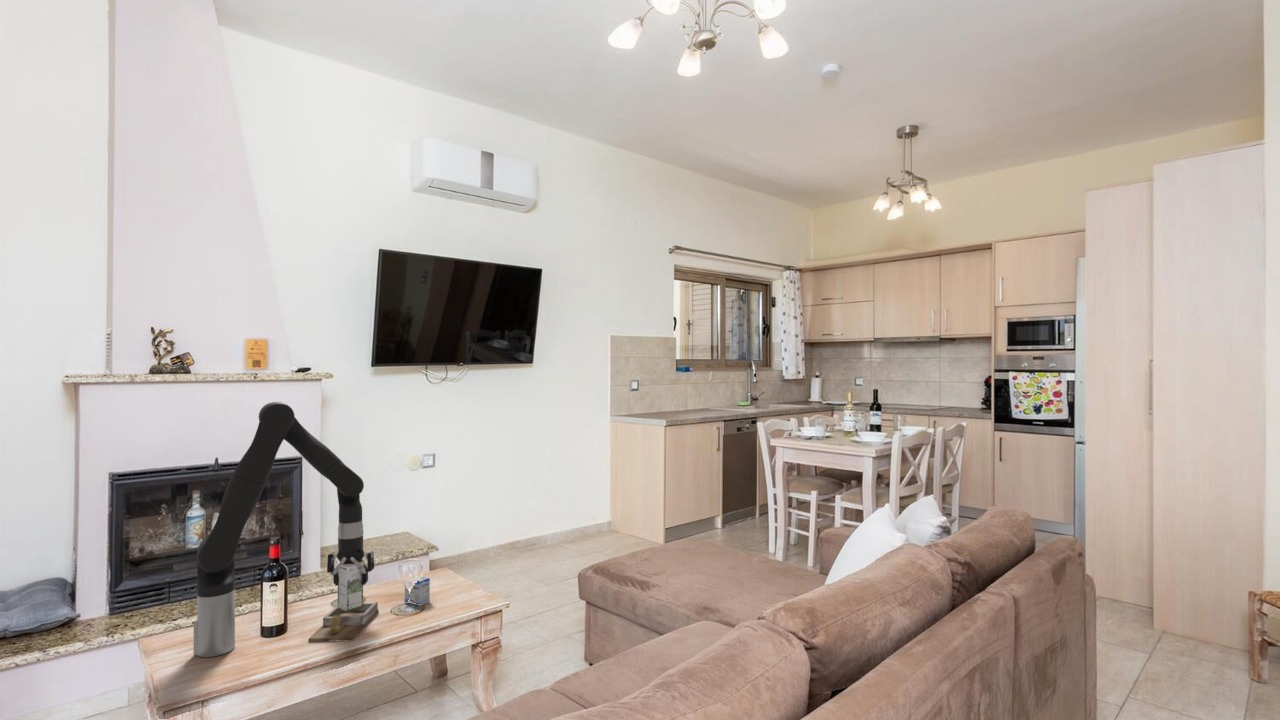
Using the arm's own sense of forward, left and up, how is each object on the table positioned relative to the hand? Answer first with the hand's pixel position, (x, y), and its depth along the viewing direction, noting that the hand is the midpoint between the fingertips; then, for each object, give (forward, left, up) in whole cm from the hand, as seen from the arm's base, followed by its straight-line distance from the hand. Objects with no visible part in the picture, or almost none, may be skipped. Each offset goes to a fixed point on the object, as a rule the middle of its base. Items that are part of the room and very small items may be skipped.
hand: (350, 584), depth 205 cm
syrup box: (0, 0, -7) cm, 7 cm away
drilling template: (0, -5, -12) cm, 13 cm away
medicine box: (+17, +14, -12) cm, 25 cm away
